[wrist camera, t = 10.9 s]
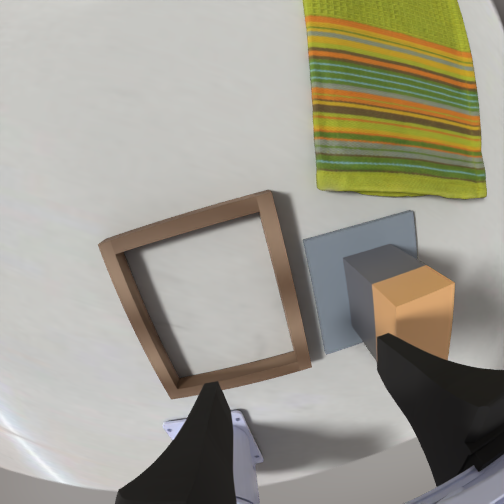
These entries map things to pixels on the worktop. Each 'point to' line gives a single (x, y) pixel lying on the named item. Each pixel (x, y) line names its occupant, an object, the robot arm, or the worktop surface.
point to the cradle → (141, 320)
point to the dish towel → (394, 98)
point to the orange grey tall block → (399, 300)
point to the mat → (333, 274)
